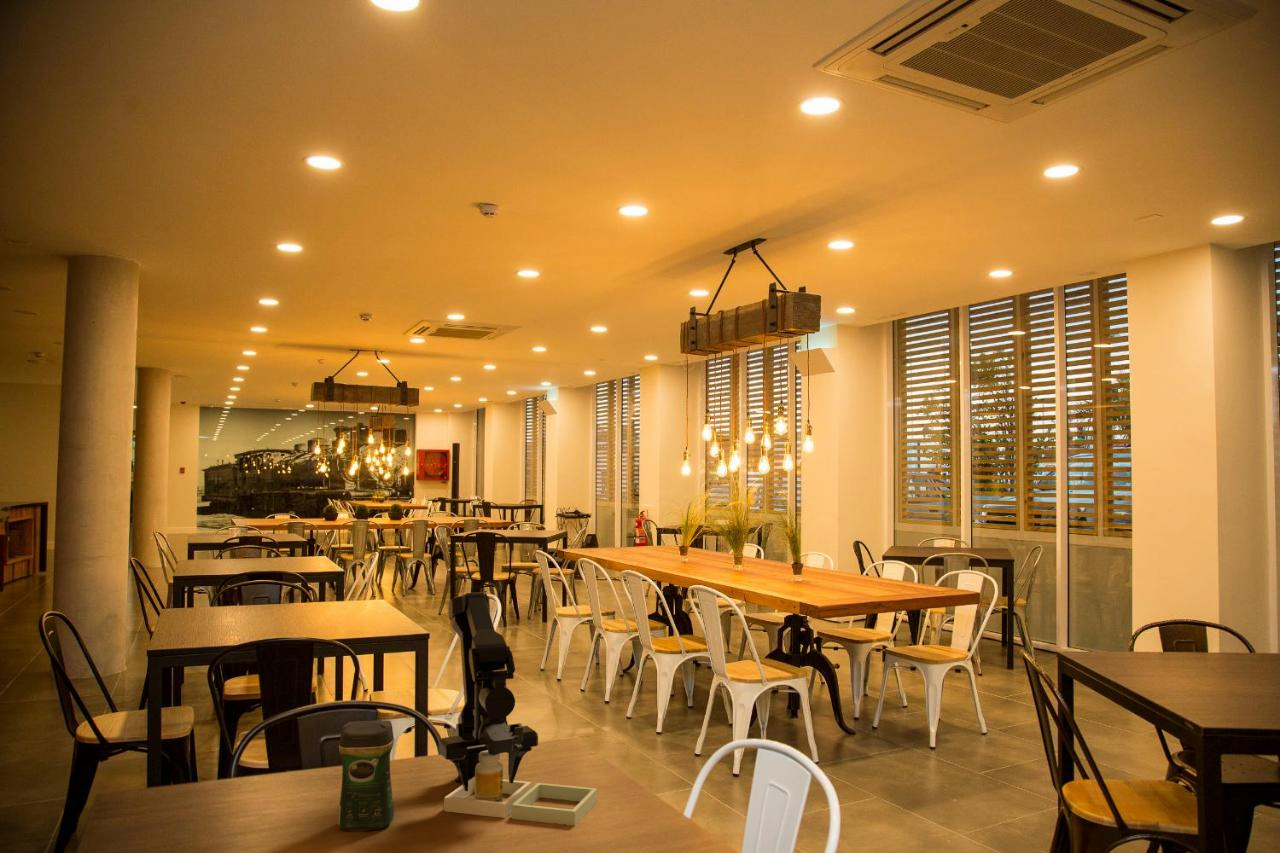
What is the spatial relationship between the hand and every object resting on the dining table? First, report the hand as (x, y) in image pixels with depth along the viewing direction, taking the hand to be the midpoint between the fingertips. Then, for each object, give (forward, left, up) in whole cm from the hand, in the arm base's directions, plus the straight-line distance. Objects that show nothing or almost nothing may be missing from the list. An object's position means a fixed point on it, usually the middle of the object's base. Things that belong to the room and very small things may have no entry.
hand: (488, 786), depth 175 cm
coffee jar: (-17, -16, -3) cm, 24 cm away
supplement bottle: (0, 0, -3) cm, 3 cm away
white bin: (0, 0, -3) cm, 3 cm away
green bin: (+14, 0, -3) cm, 14 cm away
